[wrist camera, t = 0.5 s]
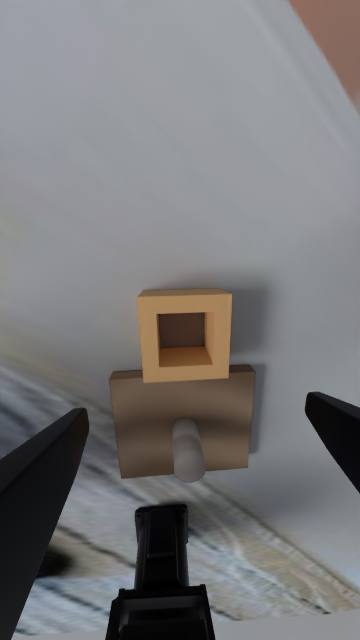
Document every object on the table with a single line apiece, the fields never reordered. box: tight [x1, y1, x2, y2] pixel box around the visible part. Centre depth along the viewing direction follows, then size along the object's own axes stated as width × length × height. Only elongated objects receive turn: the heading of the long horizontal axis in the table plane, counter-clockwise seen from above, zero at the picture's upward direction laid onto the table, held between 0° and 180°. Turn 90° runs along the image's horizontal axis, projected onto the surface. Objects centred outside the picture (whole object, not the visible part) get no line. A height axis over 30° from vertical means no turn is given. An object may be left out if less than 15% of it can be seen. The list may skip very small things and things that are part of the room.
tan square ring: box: [137, 289, 232, 383], centre depth 18 cm, size 7×7×4 cm
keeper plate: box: [109, 365, 255, 483], centre depth 19 cm, size 12×14×6 cm
